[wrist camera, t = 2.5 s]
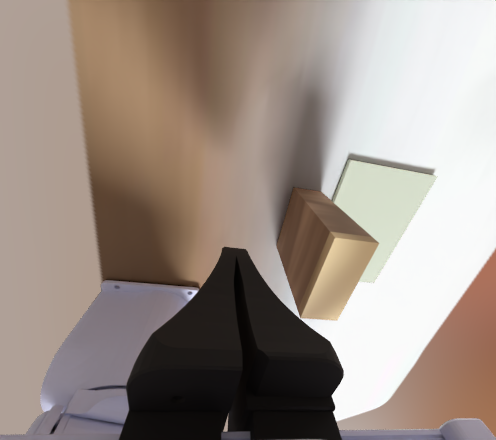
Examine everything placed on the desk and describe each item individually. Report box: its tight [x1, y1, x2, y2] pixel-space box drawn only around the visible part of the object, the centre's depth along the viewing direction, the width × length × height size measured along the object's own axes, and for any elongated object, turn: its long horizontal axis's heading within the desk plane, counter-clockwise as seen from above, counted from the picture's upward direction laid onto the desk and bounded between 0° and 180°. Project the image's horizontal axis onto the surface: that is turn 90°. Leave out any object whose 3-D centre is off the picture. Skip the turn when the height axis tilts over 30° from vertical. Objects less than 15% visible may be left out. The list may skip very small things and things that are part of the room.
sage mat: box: [332, 159, 438, 283], centre depth 20 cm, size 8×12×1 cm, turn 170°
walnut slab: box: [277, 187, 379, 320], centre depth 16 cm, size 2×6×8 cm, turn 169°
